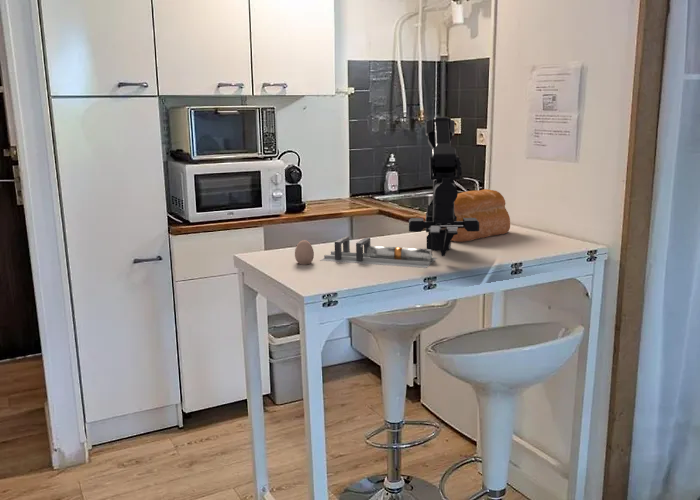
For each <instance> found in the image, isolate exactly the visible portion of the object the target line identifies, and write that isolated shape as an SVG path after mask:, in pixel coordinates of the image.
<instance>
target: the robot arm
mask: <svg viewBox="0 0 700 500" xmlns="http://www.w3.org/2000/svg"><path fill="white" fill-rule="evenodd" d="M455 124H456V122H455V120H453V119H451V117H449V116H435V117H433V118H432V119H429V120H427V121H425V136H426V137H427V143H428V145H429V147H430V148H431V150H432V152H431V156H429V178H430V179H429V180H432V181H433V182H432V191H433V192H432V199H431V202H430V203H429V204H427V205H426V212H425V221H424V218H423V217H418V218H417V217H415V218H413V217H411V218H410V219H408V232H413V233H415V232H416V233H419V232H422V231H423V230H425V232H426V233H428V235H426V249H431V250H432V251H434V252H435V251H436V252H440V254H441V257H445V256H446V254H447V252H448V251H450V250H451V249H452V241H451V239H452V238H453V236H454V235H457V234H458V232H457V229H458V228H465V229H466V230H467V231H479V221H478V220H477V219H476V218H463V221H457V217H456V216H455V213H454V201H455V200H456V198H457V195H458V189H457V187H456V184H455V183H456V181H455V180H460V179H461V177H462V174H463V173H462V172H463V171H462V160H461V159H460V157H459V156H458V155H457V149H456V148H455V147H453V146H451V142H452V139H453V136H454V135H455V131H456V130H455V129H456V128H455Z"/></svg>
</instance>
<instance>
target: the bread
mask: <svg viewBox="0 0 700 500" xmlns="http://www.w3.org/2000/svg"><path fill="white" fill-rule="evenodd" d="M505 199H506V198H505V197H504V196H503V195H502V193H501V192H499V191H498V190H495V189H487V188H485V189H480V190H479V189H478V190H468V191H462V192H459V193H458V195H457V198H456V200H455V201H454V213H455V216H456V217H457V221H463V218H476V219H477V220H478V221H479V231H467V230H466V229H465V228H458V229H457V232H458V234H457V235H454V236H453V238H452V239H451V242H459V243H460V242H461V243H462V242H469V241H474V240H477V239H484V238H487V237H492V236H493V237H494V236H498V235H504V234H507V233H509V231H510V229H511V218H510V217H511V216H510V215H509V212H508V210H507V208H506V204H507V203H506V200H505Z"/></svg>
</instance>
